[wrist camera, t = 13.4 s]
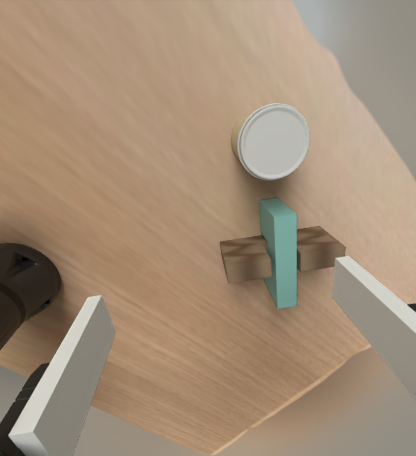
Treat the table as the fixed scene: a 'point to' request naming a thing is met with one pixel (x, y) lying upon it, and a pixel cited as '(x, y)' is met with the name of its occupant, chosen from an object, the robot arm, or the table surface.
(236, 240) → the walnut rail
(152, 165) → the table surface
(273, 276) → the teal rectangular block
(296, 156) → the coffee cup
